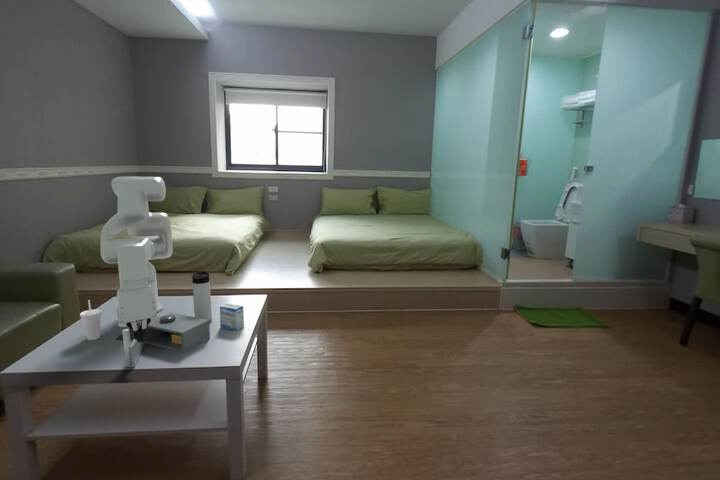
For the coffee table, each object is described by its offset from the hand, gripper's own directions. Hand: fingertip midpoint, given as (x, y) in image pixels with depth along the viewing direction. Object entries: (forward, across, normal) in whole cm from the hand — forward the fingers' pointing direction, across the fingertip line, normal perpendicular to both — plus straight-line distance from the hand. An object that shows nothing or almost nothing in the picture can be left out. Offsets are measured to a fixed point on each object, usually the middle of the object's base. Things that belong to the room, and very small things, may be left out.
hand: (140, 340), depth 120 cm
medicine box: (+8, -33, -11) cm, 36 cm away
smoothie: (+8, +10, -31) cm, 34 cm away
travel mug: (+8, -26, -23) cm, 36 cm away
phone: (+9, -3, -29) cm, 30 cm away
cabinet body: (+8, -13, -11) cm, 19 cm away
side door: (+8, +1, -8) cm, 11 cm away
